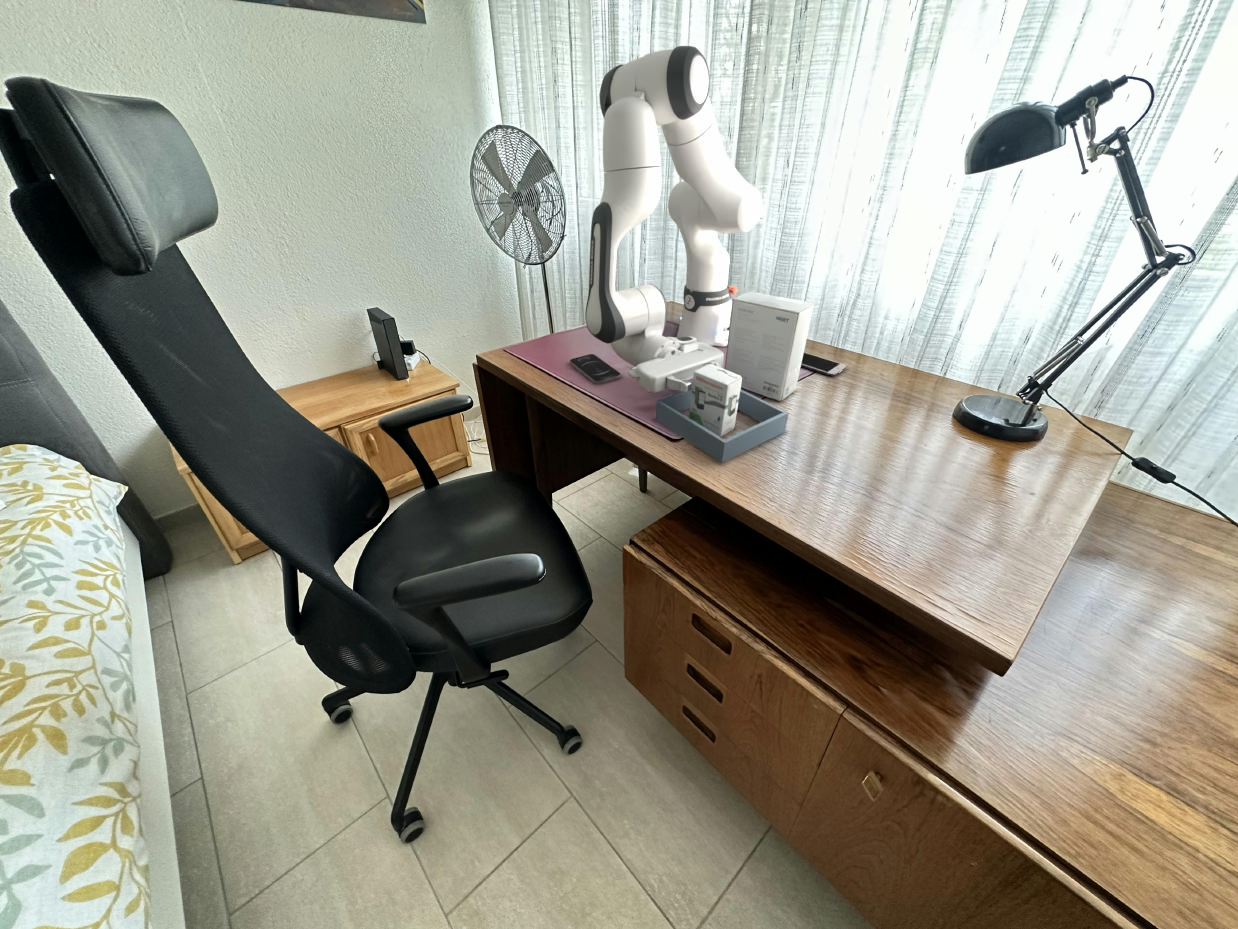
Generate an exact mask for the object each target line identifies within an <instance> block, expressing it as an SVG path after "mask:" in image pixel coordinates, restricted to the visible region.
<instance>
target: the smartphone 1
mask: <svg viewBox="0 0 1238 929" xmlns="http://www.w3.org/2000/svg"><path fill="white" fill-rule="evenodd" d="M569 364H570V365H572V367H574V368H575V369H576V370H577V371H579V373H581V374H582V375H583V376H585V377H586V378H587V379H588V380H590V381H591V382H592V383H593V384H596V385H600V384H604V383H607V382H610V381H614V380H618V379H620V378H621V372H620V371H618V370H617V369H615V368H614V367H612V366H611V364H608V363H607V362H606V361H605V360H603V359H601V358H600V357H599V356H597V355H596V354H594V353H590V354H584V355H581V356H578V357H574V358H571V359H569Z"/></svg>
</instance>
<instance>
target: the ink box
mask: <svg viewBox="0 0 1238 929" xmlns="http://www.w3.org/2000/svg"><path fill="white" fill-rule="evenodd" d="M741 383H742V377H741V376H740V375H737V374H735V373H732V372H730V371H728V370H725V368H723V367H722V368H720V367H718V366H715V365H713V364H707V365H705V366H703V367H701V368H699V369H697V370H695V371H694V375H693V379H692V386H691V388H692V396H691V407H690V408H689V417H688V418H690V419H691V420H693V421H695V422H696V423H698V424H700V425H701V426H703V427H705V428H706V429H708V430H709V431H711V432H713V433H714V434H716V435H718V436H719V437H721V438H722V437H724V436H725V435H727V434H728V433H729V432H731V431H733V430H734V429H735V426H736V420H737V413H738V410H737V408H738V402H739V395H740V389H741V390H742V388H741Z"/></svg>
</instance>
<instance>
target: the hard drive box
mask: <svg viewBox="0 0 1238 929" xmlns="http://www.w3.org/2000/svg"><path fill="white" fill-rule="evenodd" d="M731 300H732V307H731V316H730V325H729V334H728V343H727V346H726V354H725V360H724V362H725V363H724V369H725V370H728V371H730V372H732V373H735V374H737V375H740V376H741V377H742V383H741V389H742V390H745V391H750V392H752V393H755V394H758V395H760V396H763V397H766V398H769V399H773V400H776V401H778V402H781V401H783V400H785V399H787V397H789V396H790V395H792V393H794V392H795V391H796V390H797V387H798V381H799V376H800V371H801V368H802V367H801V363H802V358H803V353H804V352H805V348H806V343H807V339H808V335H809V330H810V325H811V319H812V315H813V310H814V305H815V303H812V302H807V301H802V300H798V299H792V298H787V297H782V296H776V295H770V294H765V293H760V292H755V291H751V290H750V291H747V292H745V293H742V294H740V295H738V296H736V297H733V298H732V299H731Z"/></svg>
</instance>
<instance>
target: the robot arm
mask: <svg viewBox="0 0 1238 929" xmlns="http://www.w3.org/2000/svg"><path fill="white" fill-rule="evenodd" d="M710 77H711V76H710V70H709V65H708V62H707V59H706V57H705V56H704V55H703V53H702V52H701V51H700V50H699V49H698V48H697V47H696V46H692V45H678V46H675V47H674V48H671V49H663V50H658V51H653V52H650V53H646V54H644V55H643V56H641V57H638V58H636V59H633V60H630V61H628V62H627V63H625V64H622V63H621V64H618V65H616V66H614V67H613V68H611V69H609V71H607V72H606V73H605V75H604V76H603V78H602V81H601V85H600V88H599V107H600V111H601V114H602V117H603V129H602V130H603V131H602V165H603V166H602V167H603V190H602V194H601V199H600V202H599V204H598V205H597V206H595V209H594V210H593V213H592V217H591V223H590V224H591V225H590V227H591V228H590V240H589V241H590V244H589V267H588V268H589V270H588V294H587V301H586V306H585V312H584V316H585V317H584V318H585V324H586V329H587V330H588V332H589V333H590V334H591V335H592V336H593V337H594V338H595V339H597V340H599V341H600V342H601V343H604V344H610V347H611V349H612V351H613V352H614V353H615V354H616V355H617V356H618V357H619V358H620V359H622V361H624V362H626V363H627V364H629V365H631V366H632V367H630V368H629V370H628V371H627V374H628V376H629V377H630V378H632V379H635V381H636V383H637V384H638V385H639V386H640V387H642V389H644V390H645V391H647V392H648V393H651V394H652V393H654V394H655V393H656V394H657V393H659V392H662V391H665V390H668V389H669V390H677V391H680V392H681V391H683V392H687V391H690V390H691V388H692V385H693V383H692V382H691V381H693V375H694V371H695V370H697V369H699V368H701V367H703V366H705V365H707V364H713V365H715V366H718V367H720V368H723V367H724V362H725V354H724V352H723V351H722V350H720V349H719V348H717V347H727V343H728V334H729V325H730V316H731V307H732V299H731V294H732V295H737V293H738V290H739V289H738V287H737V286H733V285H730V286H728V280H729V270H730V261H731V258H730V255H729V253H728V250H726V248H724V247H723V245H722V244H721V241H720V240H719V237H718V234H717V233H721V234H727V235H733V234H735V235H736V234H744V233H749V232H751V231H752V229H754V227H755V226H756V225H757V223H758V222H759V220H760V218H761V215H762V211H763V198H762V195H761V192H760V191H759V189H758V188H757V187H756V186H754V185H752V184H751V183H749V182H748V180H746V179H745V177H743V175H741V173H740V172H739V171H738V170H737V168H736V166H734V164H733V162H732V161H731V159H730V157H729V156H728V154H727V152H726V150H725V147H724V145H723V140H722V138H721V134H720V131H719V128H718V123H717V119H716V116H715V111H714V108H713V106H712V102H711V99H710V96H709V93H710V86H711V84H710V83H711V82H710V80H711V79H710ZM660 126H661V130H662V134H663V137H664V140H665V142H666V147H667V148H668V152H669V155H670V158H671V161H672V163H673V166H674V169H675V171H676V174H677V175H678V176H679V178H680V179H681V180H683V181H679V182H678V183H676V184H675V185H674V186H673V187H672V189H671V191H670V193H669V196H668V201H667V210H668V215H669V217H670V218H671V220H672V221H673V222H674V223H675V225H676V227H677V228H678V230H679V232H680V235H681V237H682V240H683V243H684V248H685V255H686V272H685V274H686V277H685V278H686V279H685V280H686V281H685V285H684V286H683V298H682V299H683V306H682V311H681V312H682V313H681V316H680V323H679V325H678V331H677V334H676V337H673V336H664V332H665V328H666V326H667V321H668V316H669V306H668V302H667V299H666V297H665V295H664V293H663V292H662V291H661V289H659V287H657V286H656V285H655V284H652V283H647V284H642V285H641V284H640V285H636V286H632V287H628V288H624V289H619V290H616V273H617V272H616V271H617V254H618V253H617V252H618V249H619V245H620V243H621V241H622V240H623V239H624V237H625V236H626V235H627V234H628V233H629V232H630V231H631V230H632V229H634V228H635V227H636V226H638V225H639V224H641V223H643V222H644V221H646V219H647V218H648V217H650V216H651V215H652V213H653V212H654V211H655V209H656V208H657V206H658V205H659V202H660V201H661V200H660V199H661V195H662V187H663V185H662V182H663V179H662V178H663V177H662V162H661V161H662V159H661V147H660V139H659V138H660V137H659V132H658V128H659V127H660Z"/></svg>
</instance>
